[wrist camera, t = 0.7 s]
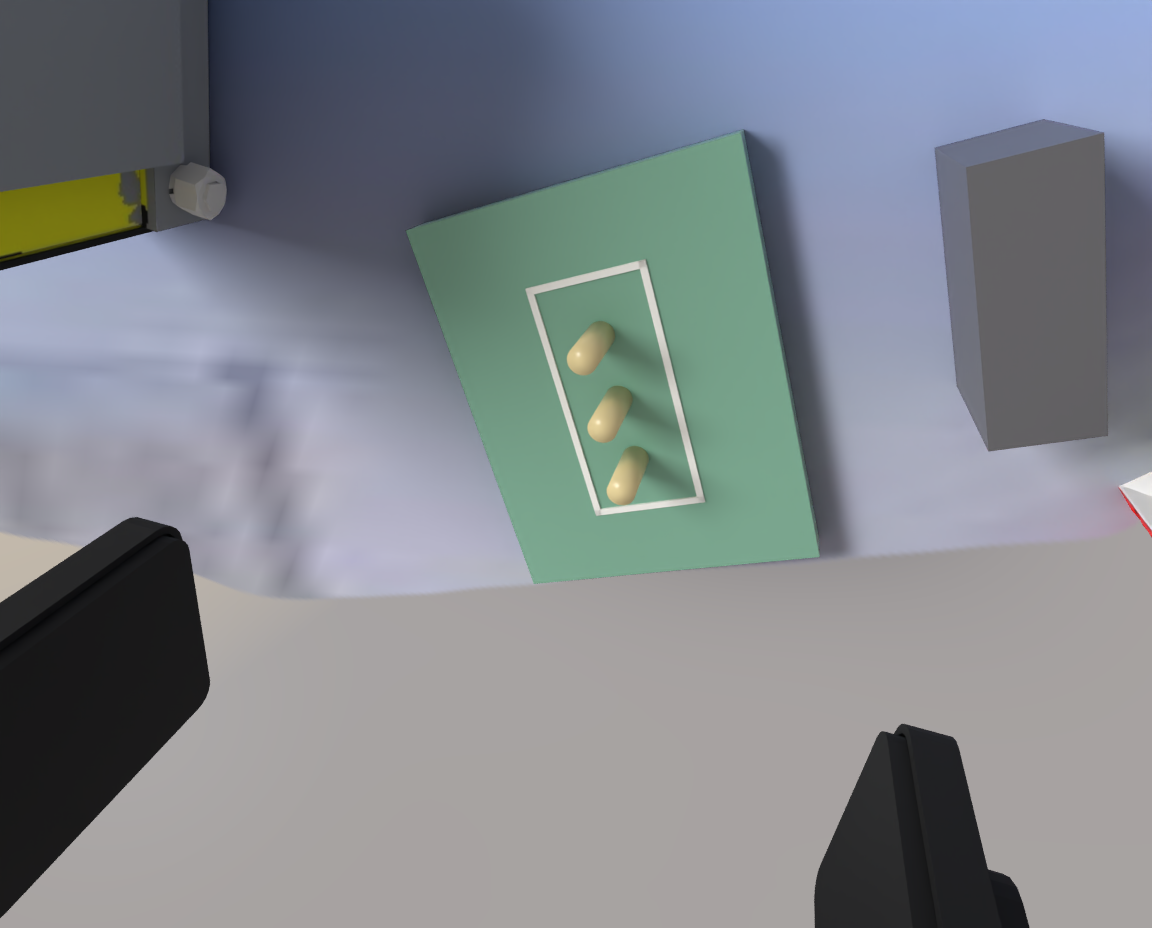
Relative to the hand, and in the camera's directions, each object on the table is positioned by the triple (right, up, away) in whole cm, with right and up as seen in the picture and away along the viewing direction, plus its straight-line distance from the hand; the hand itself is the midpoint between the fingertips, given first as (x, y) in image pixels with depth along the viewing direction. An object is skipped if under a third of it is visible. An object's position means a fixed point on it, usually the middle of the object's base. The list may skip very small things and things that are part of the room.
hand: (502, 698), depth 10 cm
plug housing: (+17, +11, +18) cm, 27 cm away
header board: (+3, +7, +24) cm, 25 cm away
